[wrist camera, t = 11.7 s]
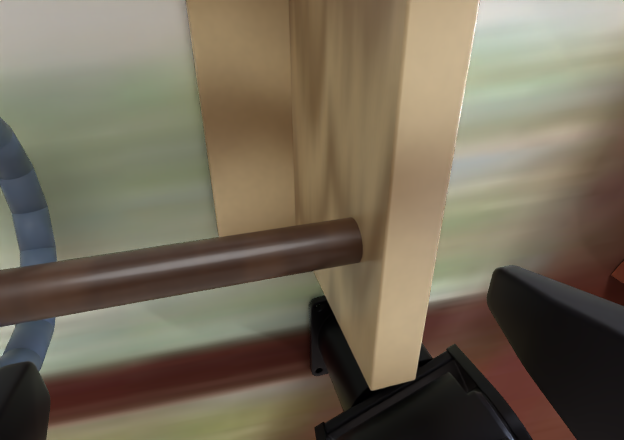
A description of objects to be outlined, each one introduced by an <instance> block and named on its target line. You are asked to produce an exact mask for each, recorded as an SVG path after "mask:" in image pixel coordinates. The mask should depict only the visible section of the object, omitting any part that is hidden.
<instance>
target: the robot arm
mask: <svg viewBox="0 0 624 440" xmlns="http://www.w3.org/2000/svg"><path fill="white" fill-rule="evenodd" d="M319 304H321V305H320V306H318V307H316V306H317V305H319ZM487 304H488V307H489V309H490V311H491V313H492V314H493V316H494V318H495V319H496V321H497V323H498V324H499V326H500V328H501V329H502V331H503V333H504V334H505V336H506V338H507V339H508V341H509V343H510V344H511V346H512V348H513V349H514V351H515V353H516V354H517V356H518V358H519V359H520V361H521V363H522V364H523V366H524V367H525V369H526V370H527V372H528V373H529V375H530V376H531V377H532V379H533V380H534V382H535V383H536V384H537V386H538V387H539V388H540V390H541V391H542V393H543V394H544V395H545V397H546V398H547V399H548V401H549V402H550V403H551V405H552V406H553V408H554V409H555V410H556V412H557V413H558V414H559V416H560V417H561V418H562V420H563V421H564V423H565V424H566V425H567V427H568V428H569V429H570V431H571V432H572V434H573V435H574V436H575V438H576V439H577V440H624V306H622V305H619V304H617V303H614V302H611V301H609V300H606V299H603V298H601V297H598V296H595V295H593V294H590V293H587V292H585V291H582V290H579V289H577V288H574V287H571V286H569V285H566V284H564V283H561V282H558V281H556V280H553V279H550V278H548V277H545V276H542V275H540V274H537V273H534V272H532V271H529V270H526V269H524V268H521V267H518V266H515V265H509V266H504V267H499V268H497V269H495V270H494V272H493V274H492V278H491V282H490V286H489V290H488V293H487ZM309 318H310V369H311V372H312V374H313V375H314V376H320V375H324V374H328V373H329V375H330V378H331V380H332V383H333V385H334V388H335V390H336V393H337V396H338V398H339V401H340V403H341V406H342V408H343V411H344V412H343V413H341V414H339V415H338V416H336V417H334V418H333V419H331V420H329V421H328V422H326V423H324V422H322V423H321V424H319V425H317V426H316V427H315V434H316V440H533V439H532V438H531V436H530V435H529V433H528V432H527V430H526V428H525V427H524V425H523V424H522V423H521V421H520V420H519V418H518V417H517V415H516V414H515V413H514V411H513V410H512V409H511V407H510V406H509V405H508V403H507V402H506V401H505V400H504V398H503V397H502V396H501V395H500V393H499V392H498V391H497V390H496V389H495V388H494V387H493V385H492V384H491V383H490V382H489V381H488V380H487V379H486V378H485V377H484V375H483V374H482V373H481V372H480V371H479V370H478V369H477V368H476V367H475V365H474V364H473V363H472V362H471V361H470V360H469V359H468V358H467V357H466V355H465V354H464V353H463V352H462V351H461V350H460V349H459V348H458V347H457V345H456V344H454V345H452V346H450V347H449V348H447V349H446V350H447V351H445V352H444V353H442V354H440V355H439V356H437V357H435V358H434V359H433V358H432V357H431V355H430V354H429V352H428V351H427V349H426V348H425V346H424V345H423V343H421V349H420V355H419V361H418V366H417V372H416V378H415V380H412V381H408V382H404V383H401V384H397V385H393V386H389V387H385V388H381V389H377V390H373V391H371V390H370V388H369V386H368V384H367V382H366V380H365V378H364V376H363V374H362V372H361V369H360V367H359V365H358V363H357V361H356V359H355V357H354V355H353V353H352V351H351V349H350V347H349V344H348V342H347V340H346V338H345V336H344V334H343V332H342V330H341V328H340V326H339V324H338V322H337V319H336V317H335V315H334V313H333V311H332V309H331V307H330V305H329V303H328V301H327V299H326V296H320V297H316V298H314V299H312V300H311V302H310V304H309ZM49 412H50V395H49V392H48V390H47V388H46V385H45V383H44V381H43V379H42V377H41V375H40V373H39V371H38V369H37V367H36V365H35V364H34V363H33V362H31V361H25V362H20V363H15V364H10V365H6V366H3V367H2V368H0V440H46V437H47V429H48V421H49Z"/></svg>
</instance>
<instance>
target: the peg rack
mask: <svg viewBox="0 0 624 440" xmlns="http://www.w3.org/2000/svg"><path fill="white" fill-rule="evenodd" d="M479 5H480V0H186V7H187V14H188V21H189V28H190V35H191V43H192V50H193V57H194V64H195V71H196V78H197V85H198V93H199V100H200V107H201V114H202V121H203V128H204V135H205V143H206V150H207V157H208V164H209V171H210V178H211V185H212V193H213V200H214V207H215V214H216V221H217V228H218V235H219V237H216V238H209V239H203V240H196V241H190V242H183V243H176V244H170V245H163V246H156V247H150V248H143V249H136V250H130V251H123V252H117V253H110V254H103V255H97V256H90V257H83V258H77V259H70V260H64V261H57V262H50V263H44V264H37V265H30V266H24V267H17V268H10V269H4V270H0V327H3V326H8V325H14V324H20V323H25V322H31V321H36V320H42V319H48V318H53V317H59V316H64V315H70V314H76V313H81V312H87V311H92V310H98V309H104V308H109V307H115V306H120V305H126V304H131V303H137V302H143V301H148V300H154V299H159V298H165V297H171V296H176V295H182V294H187V293H193V292H199V291H204V290H210V289H215V288H221V287H226V286H232V285H238V284H243V283H249V282H254V281H260V280H266V279H271V278H277V277H282V276H288V275H294V274H299V273H305V272H310V271H314V274H315V276H316V278H317V280H318V282H319V284H320V286H321V288H322V290H323V292H324V294H325V296H326V299H327V301H328V303H329V305H330V307H331V309H332V311H333V313H334V315H335V317H336V319H337V322H338V324H339V326H340V328H341V330H342V332H343V334H344V336H345V338H346V340H347V342H348V344H349V347H350V349H351V351H352V353H353V355H354V357H355V359H356V361H357V363H358V365H359V367H360V369H361V372H362V374H363V376H364V378H365V380H366V382H367V384H368V386H369V388H370V390H371V391H373V390H377V389H381V388H385V387H389V386H393V385H397V384H401V383H404V382H408V381H412V380H415V378H416V372H417V366H418V361H419V355H420V349H421V343H422V337H423V331H424V326H425V320H426V314H427V308H428V302H429V296H430V291H431V285H432V279H433V273H434V267H435V261H436V256H437V250H438V244H439V238H440V232H441V226H442V221H443V215H444V209H445V203H446V197H447V191H448V186H449V180H450V174H451V168H452V162H453V156H454V151H455V145H456V139H457V133H458V127H459V121H460V116H461V110H462V104H463V98H464V92H465V86H466V81H467V75H468V69H469V63H470V57H471V51H472V46H473V40H474V34H475V28H476V22H477V16H478V11H479Z"/></svg>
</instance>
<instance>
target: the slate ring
mask: <svg viewBox="0 0 624 440" xmlns="http://www.w3.org/2000/svg"><path fill="white" fill-rule="evenodd" d="M0 186H1V189H2V191H3V194H4V196H5V198H6V201H7V203H8V206H9V208H10V210H11V213H12V217H13V222H14V227H15V231H16V236H17V241H18V245H19V250H20V267H24V266H30V265H37V264H44V263H50V262H57V255H56V245H55V240H54V235H53V230H52V225H51V220H50V215H49V210H48V206H47V203H46V200H45V197H44V194H43V192H42V189H41V186H40V183H39V181H38V178H37V175H36V173H35V170H34V167H33V165H32V163H31V161H30V159H29V158H28V156H27V154H26V153H25V151H24V149H23V148H22V146H21V144H20V142H19V141H18V139H17V137H16V136H15V134H14V132H13V130H12V129H11V128H10V126H9V125H8V124H7V123H6V122H5V121H4V120H3V119H2V118H1V117H0ZM54 326H55V317H53V318H48V319H42V320H36V321H31V322H25V323H20V324H16V326H15V329H14V331H13V333H12V336H11V338H10V340H9V342H8V344H7V346H6V349H5V351H4V353H3V355H2V356H1V357H0V368H2V367H3V366H6V365H10V364H15V363H20V362H25V361H31V362H33V363H34V364H35V365H36V367H37V369H38V371H40V369H41V367H42V364H43V361H44V358H45V355H46V352H47V349H48V347H49V344H50V341H51V338H52V335H53V332H54Z"/></svg>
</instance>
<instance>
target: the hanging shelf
mask: <svg viewBox="0 0 624 440" xmlns="http://www.w3.org/2000/svg"><path fill="white" fill-rule="evenodd" d="M611 275H612V276H613V277H615V278H616V279H618V280H619V281H621V282H622V283H623V284H624V261H623V262H622V263H621V264H620V265H619V266H618V267H617V268H616V270H615V271H614V272H613V273H612V274H611Z"/></svg>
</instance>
